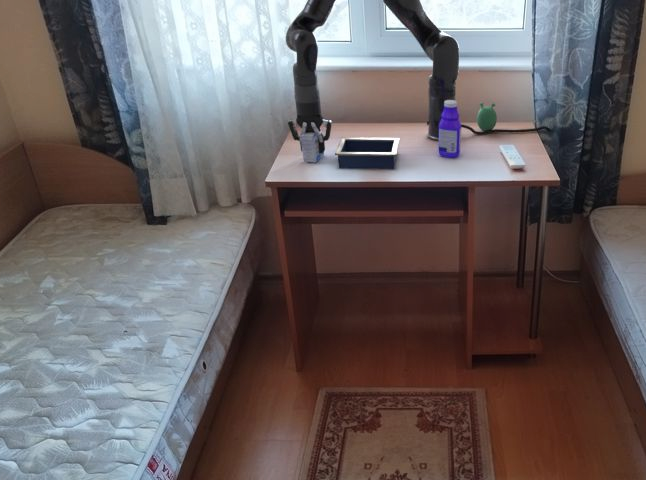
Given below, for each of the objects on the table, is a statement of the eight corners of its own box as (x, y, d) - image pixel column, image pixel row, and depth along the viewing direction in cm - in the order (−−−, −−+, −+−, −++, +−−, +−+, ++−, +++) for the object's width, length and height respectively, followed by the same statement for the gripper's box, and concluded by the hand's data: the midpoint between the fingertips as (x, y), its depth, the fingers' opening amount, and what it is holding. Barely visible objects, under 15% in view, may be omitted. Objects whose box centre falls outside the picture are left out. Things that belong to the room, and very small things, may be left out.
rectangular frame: (399, 153, 221) (399, 138, 218) (396, 170, 209) (395, 154, 206) (342, 152, 221) (341, 137, 218) (336, 169, 209) (334, 153, 206)
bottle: (462, 154, 220) (464, 100, 210) (457, 159, 216) (458, 105, 206) (441, 151, 222) (442, 97, 212) (436, 157, 218) (436, 102, 208)
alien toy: (495, 127, 243) (496, 99, 237) (496, 134, 237) (498, 105, 231) (475, 127, 243) (476, 99, 237) (477, 134, 237) (478, 105, 231)
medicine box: (316, 163, 212) (313, 136, 207) (303, 162, 213) (299, 135, 208) (324, 154, 219) (321, 128, 214) (311, 153, 219) (308, 127, 214)
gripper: (332, 95, 208) (337, 149, 218) (286, 94, 208) (293, 148, 218) (328, 102, 202) (333, 157, 212) (281, 101, 202) (288, 156, 212)
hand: (313, 152), depth 215 cm, fingers closed on medicine box, 5 cm apart
